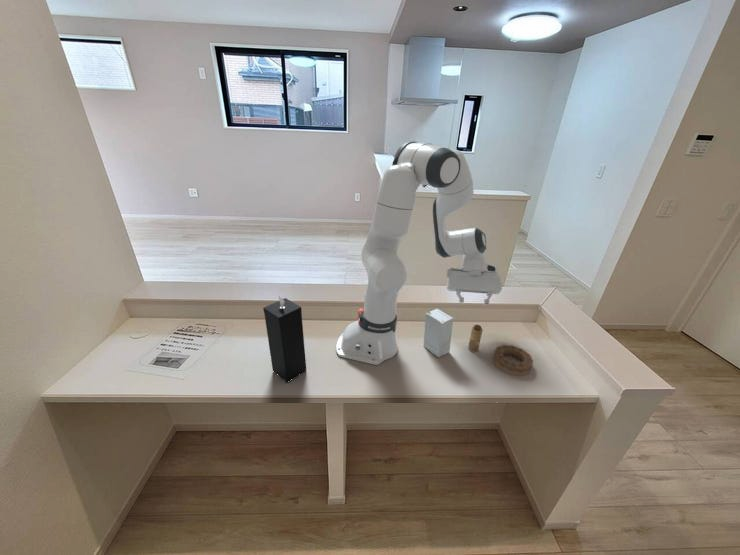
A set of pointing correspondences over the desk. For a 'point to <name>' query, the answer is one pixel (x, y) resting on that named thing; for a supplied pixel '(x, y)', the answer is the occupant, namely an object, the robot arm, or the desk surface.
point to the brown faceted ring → (510, 366)
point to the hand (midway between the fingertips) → (474, 303)
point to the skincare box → (438, 332)
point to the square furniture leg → (285, 338)
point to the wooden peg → (475, 338)
